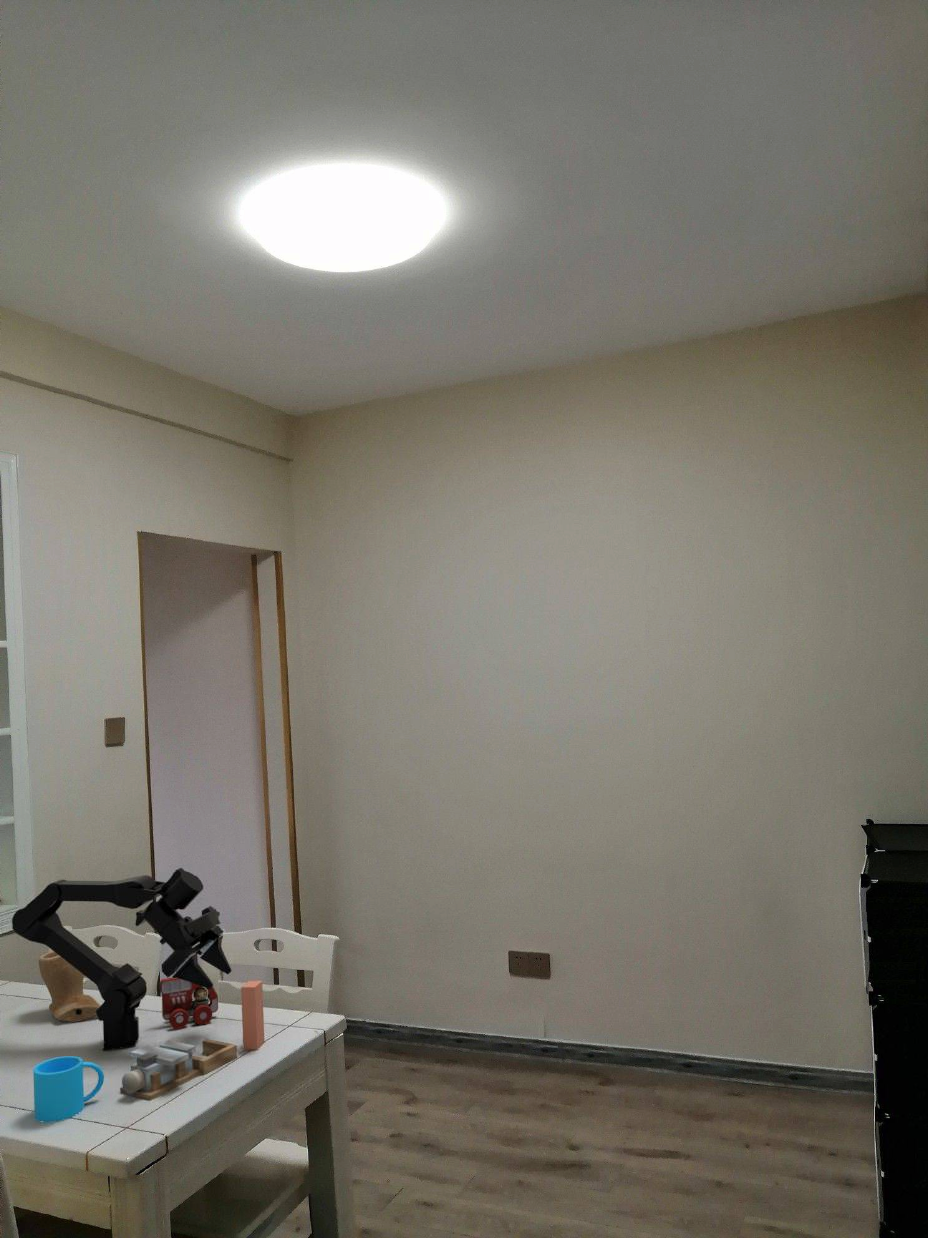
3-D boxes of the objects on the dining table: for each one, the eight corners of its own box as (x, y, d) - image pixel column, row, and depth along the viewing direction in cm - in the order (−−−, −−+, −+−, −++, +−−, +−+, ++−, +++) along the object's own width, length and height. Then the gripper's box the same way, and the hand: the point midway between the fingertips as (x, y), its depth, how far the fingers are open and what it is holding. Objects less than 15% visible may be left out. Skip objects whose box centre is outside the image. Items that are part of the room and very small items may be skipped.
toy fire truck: (221, 1022, 219) (219, 974, 220) (163, 1033, 214) (161, 984, 215) (215, 1012, 226) (214, 966, 226) (159, 1023, 221) (157, 975, 221)
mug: (41, 1127, 171) (39, 1079, 172) (29, 1111, 178) (28, 1065, 178) (111, 1106, 179) (110, 1059, 179) (97, 1091, 185) (96, 1047, 186)
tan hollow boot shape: (36, 1012, 232) (34, 947, 233) (90, 1001, 238) (88, 937, 239) (47, 1031, 219) (45, 962, 220) (103, 1018, 225) (101, 951, 226)
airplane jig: (199, 1050, 203) (198, 1019, 204) (240, 1058, 198) (238, 1026, 198) (108, 1094, 184) (107, 1060, 184) (150, 1105, 178) (149, 1069, 178)
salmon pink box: (243, 1049, 202) (241, 987, 203) (250, 1042, 206) (248, 981, 207) (257, 1050, 202) (254, 987, 202) (264, 1042, 206) (262, 981, 206)
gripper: (174, 909, 198) (228, 966, 196) (213, 887, 216) (263, 939, 214) (138, 948, 199) (191, 1006, 197) (180, 923, 218) (229, 975, 215)
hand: (221, 979), depth 206 cm, fingers open, 9 cm apart
